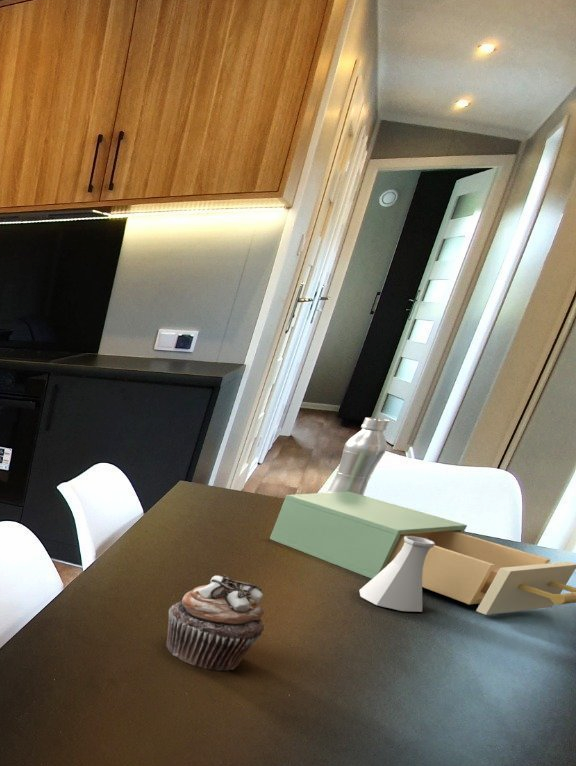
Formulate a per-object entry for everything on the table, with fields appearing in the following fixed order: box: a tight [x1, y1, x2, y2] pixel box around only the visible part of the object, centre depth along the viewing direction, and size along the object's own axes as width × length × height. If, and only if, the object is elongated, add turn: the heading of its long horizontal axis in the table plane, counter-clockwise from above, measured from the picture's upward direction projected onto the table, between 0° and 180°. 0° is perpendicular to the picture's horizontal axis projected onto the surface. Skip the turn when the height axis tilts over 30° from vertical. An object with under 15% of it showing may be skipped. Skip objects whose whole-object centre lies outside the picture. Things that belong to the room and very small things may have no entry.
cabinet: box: [269, 492, 468, 580], centre depth 110 cm, size 19×15×9 cm
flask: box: [359, 536, 435, 613], centre depth 92 cm, size 7×7×10 cm
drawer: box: [385, 531, 576, 616], centre depth 95 cm, size 22×13×7 cm, turn 13°
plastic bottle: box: [325, 416, 390, 496], centre depth 127 cm, size 6×7×20 cm
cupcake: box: [165, 573, 265, 672], centre depth 77 cm, size 10×10×10 cm
